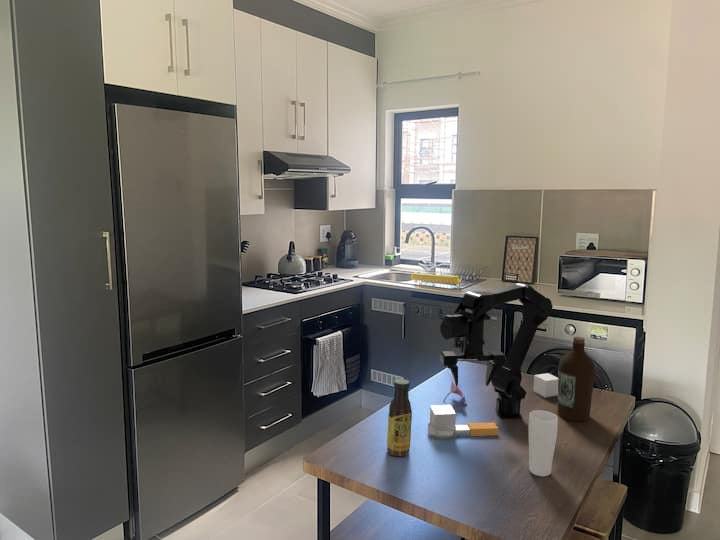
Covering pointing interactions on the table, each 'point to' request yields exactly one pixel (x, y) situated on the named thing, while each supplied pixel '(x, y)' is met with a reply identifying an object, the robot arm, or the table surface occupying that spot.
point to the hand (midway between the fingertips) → (471, 385)
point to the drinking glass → (542, 441)
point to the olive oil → (575, 383)
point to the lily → (454, 389)
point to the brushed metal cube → (442, 417)
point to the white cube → (546, 385)
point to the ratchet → (465, 430)
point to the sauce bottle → (399, 420)
